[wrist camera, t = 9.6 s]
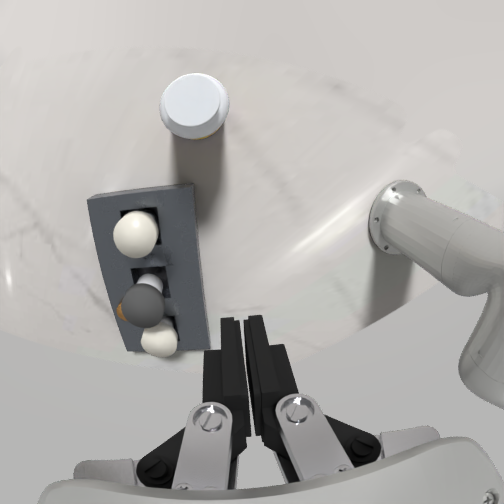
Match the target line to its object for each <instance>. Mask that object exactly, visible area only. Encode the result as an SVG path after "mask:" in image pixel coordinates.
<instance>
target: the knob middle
mask: <svg viewBox="0 0 504 504" xmlns="http://www.w3.org/2000/svg"><path fill="white" fill-rule="evenodd" d="M162 290H163V283H162V281H161V280H160V278H159V277H157V276H156V275H154V274H144V275H142V276H141V277H140V278H139V280H138V282H137V284H134V285H132V286H131V287H130V288H129V289H128V290H127V291H126V294H125V296H124V298H123V300H122V303H121V310H122V314H123V315H124V317H125V318H126V320H127V321H128V322H130V323H131V324H133V325H135V326H137V327H140V328H151V327H154V326H156V325H158V324H159V323H160V321H161V320H162V317H163V313H164V308H165V299H164V297H163V295H162Z"/></svg>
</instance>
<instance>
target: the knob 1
mask: <svg viewBox="0 0 504 504" xmlns="http://www.w3.org/2000/svg"><path fill="white" fill-rule="evenodd" d="M157 225H158V220H157V217H156V215H155V214H154V213H153V212H152V211H151V210H148V209H141V210H138V211H132V212H129V213H127V214H126V215H125V216H124V217H123V218H122V219H121V220H120V221H119V222H118V223H117V224H116V226H115V228H114V233H113V237H114V242H115V245H116V246H117V248H118V249H119V251H120V252H121V253H123V254H124V255H126V256H128V257H131V258H141V257H144V256H146V255H148V254H149V253H150V252H151V251H152V249H153V247H154V245H155V243H156V241H157V239H158V226H157Z"/></svg>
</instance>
